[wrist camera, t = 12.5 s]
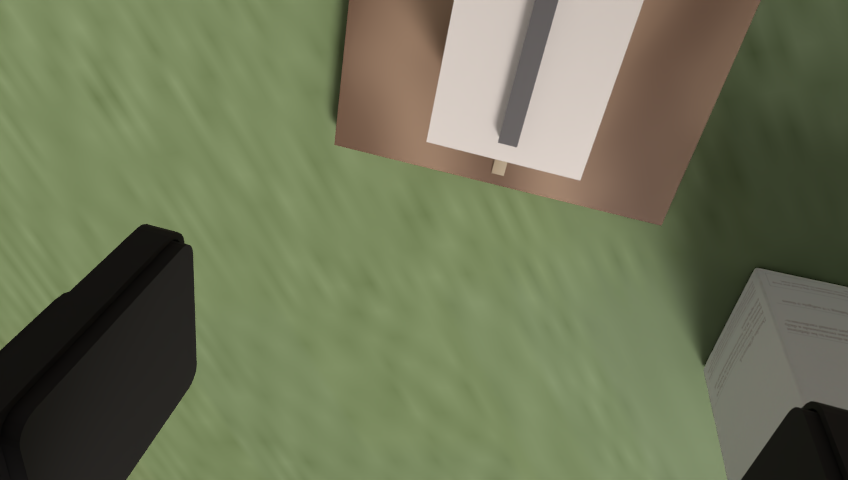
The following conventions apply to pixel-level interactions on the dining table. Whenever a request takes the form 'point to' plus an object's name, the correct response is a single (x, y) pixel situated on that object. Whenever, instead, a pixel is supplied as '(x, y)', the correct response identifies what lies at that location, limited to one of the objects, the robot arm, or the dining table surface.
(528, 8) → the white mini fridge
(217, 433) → the dining table surface
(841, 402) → the supplement box
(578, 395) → the dining table surface
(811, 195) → the dining table surface
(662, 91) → the brown rectangular plate
